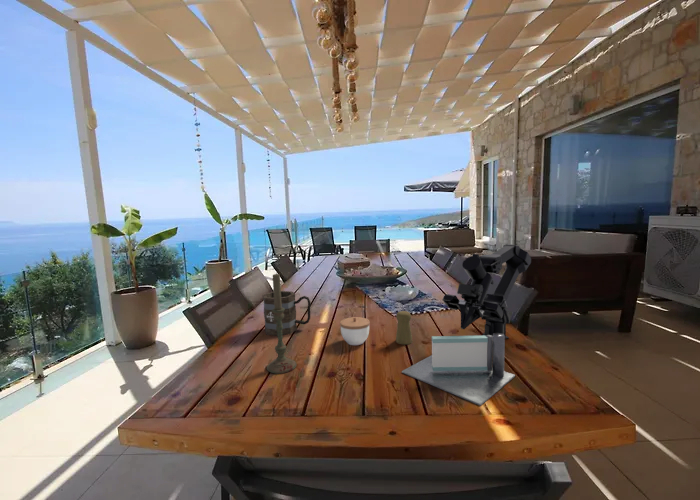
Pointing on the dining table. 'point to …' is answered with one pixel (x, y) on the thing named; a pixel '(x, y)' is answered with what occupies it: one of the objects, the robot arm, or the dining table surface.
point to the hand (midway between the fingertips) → (462, 328)
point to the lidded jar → (355, 330)
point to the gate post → (467, 376)
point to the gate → (462, 353)
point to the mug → (289, 312)
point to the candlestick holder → (279, 333)
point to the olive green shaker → (403, 328)
